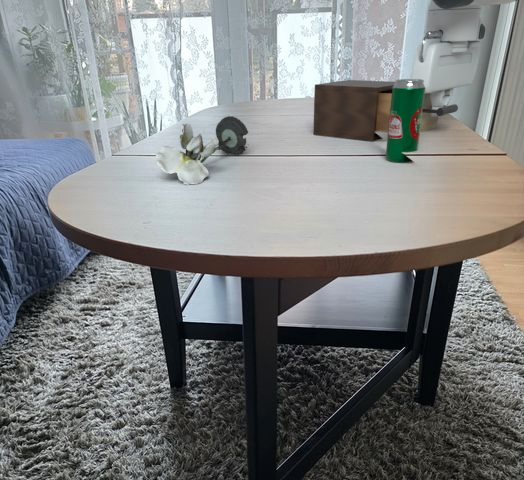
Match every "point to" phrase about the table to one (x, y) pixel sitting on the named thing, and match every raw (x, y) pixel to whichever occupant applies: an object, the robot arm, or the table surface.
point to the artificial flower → (201, 150)
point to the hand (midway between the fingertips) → (438, 116)
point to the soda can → (405, 119)
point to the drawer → (427, 119)
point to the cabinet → (348, 109)
